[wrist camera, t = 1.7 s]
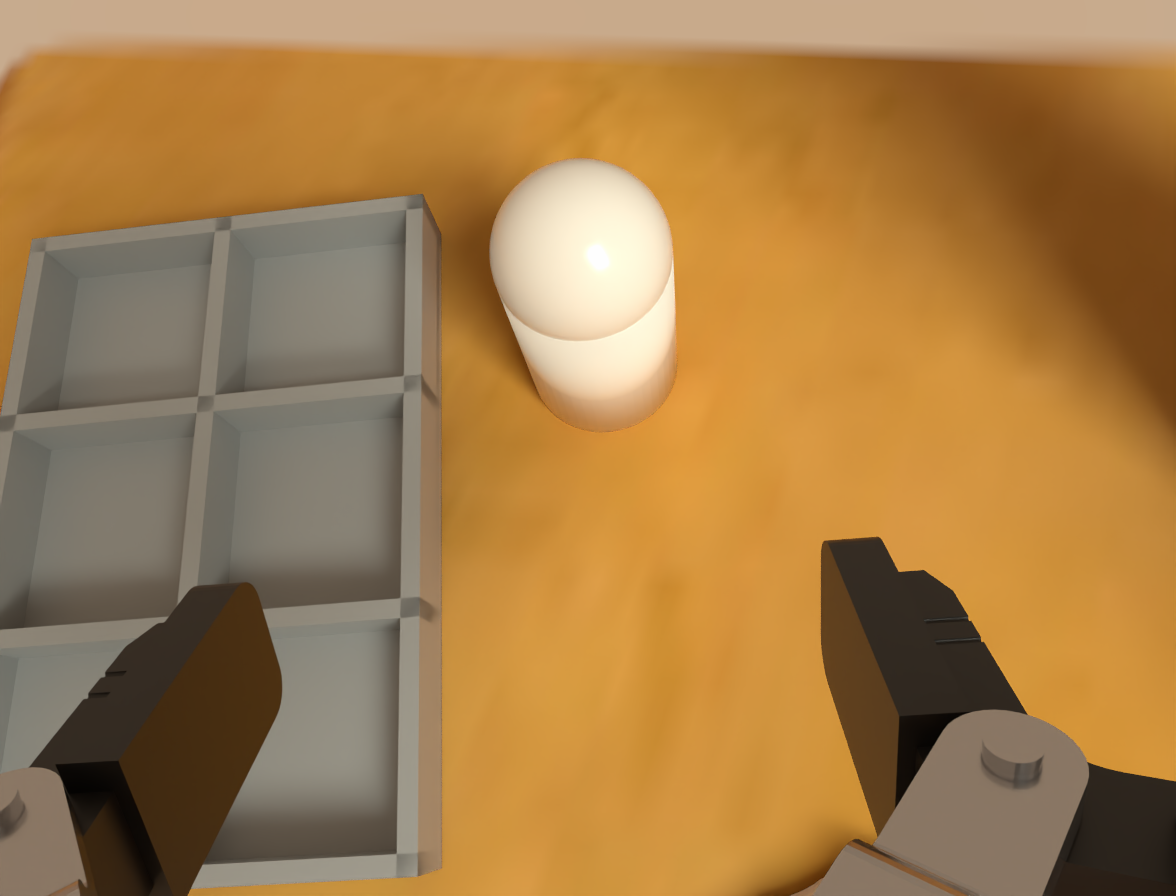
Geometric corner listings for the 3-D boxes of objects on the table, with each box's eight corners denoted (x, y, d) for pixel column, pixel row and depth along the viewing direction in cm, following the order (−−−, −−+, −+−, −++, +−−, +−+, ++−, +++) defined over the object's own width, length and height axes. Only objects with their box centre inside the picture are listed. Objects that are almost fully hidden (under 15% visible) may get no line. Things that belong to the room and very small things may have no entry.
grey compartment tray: (441, 233, 36) (422, 193, 33) (441, 868, 28) (417, 876, 25) (75, 274, 37) (32, 239, 34) (-23, 893, 29) (-88, 903, 26)
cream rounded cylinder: (670, 293, 34) (661, 106, 24) (683, 424, 32) (679, 276, 22) (531, 308, 34) (469, 129, 25) (536, 438, 32) (471, 298, 23)
